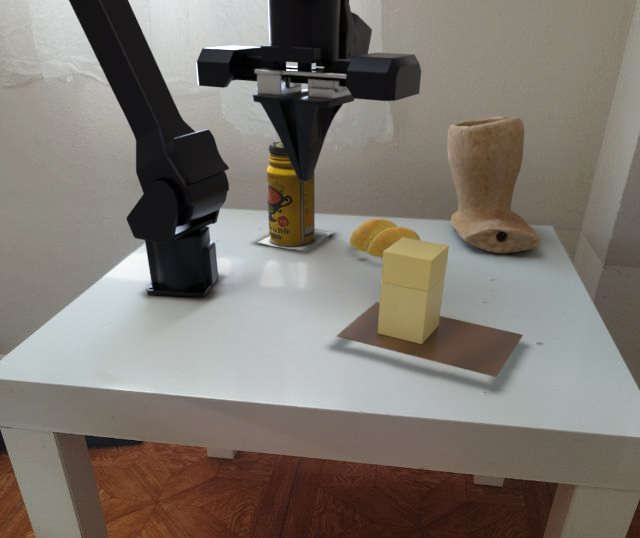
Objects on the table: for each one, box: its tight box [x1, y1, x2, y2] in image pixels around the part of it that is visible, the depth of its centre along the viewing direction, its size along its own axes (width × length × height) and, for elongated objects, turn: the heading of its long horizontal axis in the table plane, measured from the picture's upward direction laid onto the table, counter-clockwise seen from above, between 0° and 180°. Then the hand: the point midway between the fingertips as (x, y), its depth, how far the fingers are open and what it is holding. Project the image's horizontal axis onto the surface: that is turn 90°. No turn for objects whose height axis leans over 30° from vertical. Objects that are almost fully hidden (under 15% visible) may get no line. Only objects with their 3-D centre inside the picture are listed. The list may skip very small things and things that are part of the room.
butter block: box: [378, 275, 446, 344], centre depth 56 cm, size 4×4×5 cm
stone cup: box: [446, 115, 543, 254], centre depth 79 cm, size 15×12×15 cm
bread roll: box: [349, 217, 421, 258], centre depth 77 cm, size 8×9×4 cm
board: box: [336, 301, 523, 378], centre depth 57 cm, size 15×9×1 cm, turn 61°
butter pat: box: [380, 237, 450, 292], centre depth 54 cm, size 4×4×3 cm
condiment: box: [256, 140, 335, 251], centre depth 79 cm, size 7×8×12 cm
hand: (305, 180), depth 56 cm, fingers closed
